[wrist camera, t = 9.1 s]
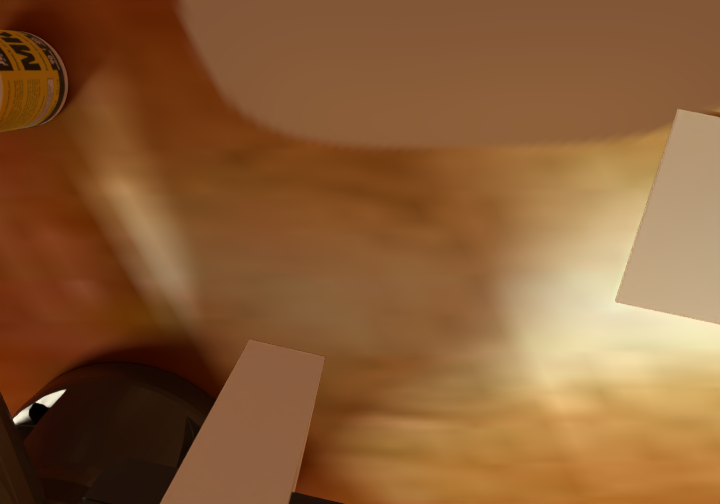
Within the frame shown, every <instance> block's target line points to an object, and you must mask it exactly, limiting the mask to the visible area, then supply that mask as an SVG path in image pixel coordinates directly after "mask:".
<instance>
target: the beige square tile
mask: <svg viewBox="0 0 720 504" xmlns="http://www.w3.org/2000/svg"><path fill="white" fill-rule="evenodd" d="M615 302H617V303H622V304H627V305H631V306H636V307H641V308H645V309H650V310H655V311H659V312H664V313H669V314H674V315H678V316H683V317H688V318H692V319H697V320H702V321H706V322H711V323H716V324H720V117H716V116H711V115H706V114H702V113H697V112H692V111H687V110H682V109H678V110H677V112H676V116H675V119H674V122H673V125H672V128H671V131H670V134H669V137H668V140H667V143H666V146H665V149H664V152H663V155H662V158H661V161H660V165H659V168H658V171H657V174H656V177H655V180H654V183H653V186H652V189H651V192H650V195H649V198H648V201H647V204H646V207H645V210H644V213H643V217H642V220H641V223H640V226H639V229H638V232H637V235H636V238H635V241H634V244H633V247H632V250H631V253H630V256H629V259H628V262H627V266H626V269H625V272H624V275H623V278H622V281H621V284H620V287H619V290H618V293H617V296H616V299H615Z"/></svg>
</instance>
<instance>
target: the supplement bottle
mask: <svg viewBox="0 0 720 504" xmlns="http://www.w3.org/2000/svg"><path fill="white" fill-rule="evenodd" d="M67 92H68V77H67V72H66V69H65V66H64V64H63V62H62V60H61V58H60V56H59V55H58V53H57V52H56V51H55V50H54V49H53V47H52V46H50V45H49V44H48V43H47V42H46V41H44V40H43V39H41V38H39V37H38V36H35V35H33V34H30V33H27V32H22V31H12V30H0V132H4V131H10V130H15V129H22V128H28V127H34V126H38V125H42V124H44V123H46V122H48V121H50V120H51V119H53V118H54V117H55V116H56V115H57V114H58V113H59V112H60V110H61V109H62V107H63V105H64V103H65V100H66V97H67Z"/></svg>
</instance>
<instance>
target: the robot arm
mask: <svg viewBox="0 0 720 504" xmlns="http://www.w3.org/2000/svg"><path fill="white" fill-rule="evenodd" d="M324 361H325V356H321V355H316V354H312V353H307V352H303V351H299V350H294V349H290V348H286V347H281V346H277V345H273V344H268V343H264V342H259V341H255V340H251V339H249V341H248V343H247V345H246V347H245V348H244V350H243V352H242V354H241V356H240V358H239V359H238V361H237V363H236V365H235V367H234V369H233V370H232V372H231V374H230V376H229V378H228V380H227V381H226V383H225V385H224V387H223V389H222V391H221V392H220V394H219V396H218V398H217V400H216V401H215V400H213V399H212V398H211V397H210V396H209V395H207V394H206V393H205V392H203V391H202V390H201V389H199V388H198V387H196V386H195V385H193V384H191V383H189V382H188V381H186V380H184V379H182V378H180V377H178V376H176V375H173V374H171V373H169V372H166V371H163V370H160V369H157V368H153V367H149V366H145V365H139V364H132V363H118V362H117V363H100V364H94V365H89V366H85V367H81V368H78V369H75V370H72V371H70V372H67V373H65V374H63V375H61V376H59V377H58V378H56V379H54V380H53V381H51V382H50V383H48V384H47V385H46V386H45V387H43V388H42V389H41V390H40V391H39V392H38V393H36V394H35V395H34V396H33V397H32V398H31V399H30V400H29V401H28V402H26V403H25V404H24V405H23V406H22V407H21V408H20V409H19V410H18V411H17V412H16V414H15V415H14V416H13V417H12V416H11V414H10V412H9V410H8V408H7V405H6V403H5V401H4V399H3V396H2V394H1V392H0V504H343V503H339V502H334V501H330V500H325V499H321V498H317V497H312V496H308V495H304V494H299V493H295V488H296V484H297V480H298V476H299V472H300V467H301V463H302V458H303V454H304V449H305V445H306V441H307V436H308V432H309V427H310V423H311V418H312V414H313V410H314V405H315V401H316V396H317V392H318V387H319V383H320V379H321V374H322V370H323V365H324Z"/></svg>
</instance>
